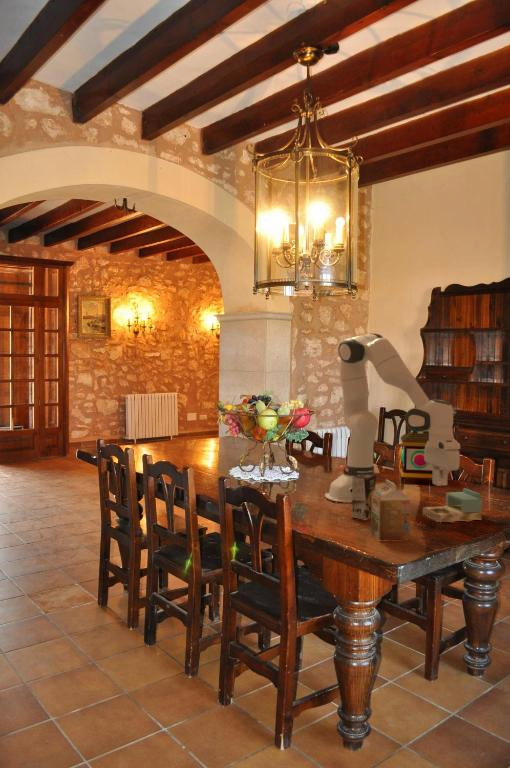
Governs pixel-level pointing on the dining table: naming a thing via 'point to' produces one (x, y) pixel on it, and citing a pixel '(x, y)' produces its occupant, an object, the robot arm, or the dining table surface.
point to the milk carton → (390, 513)
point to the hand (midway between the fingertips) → (440, 477)
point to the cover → (465, 500)
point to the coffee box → (362, 495)
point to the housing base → (450, 514)
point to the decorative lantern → (414, 456)
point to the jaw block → (438, 477)
